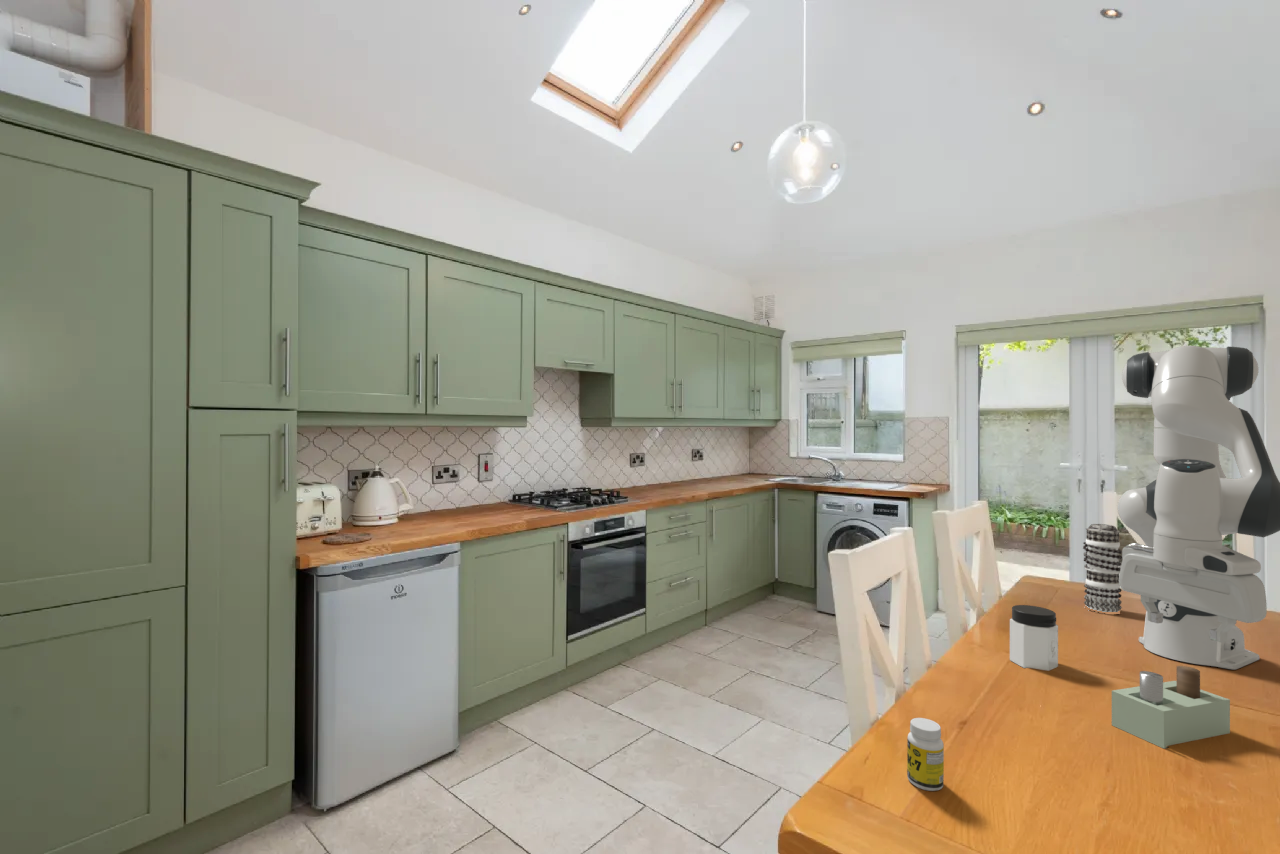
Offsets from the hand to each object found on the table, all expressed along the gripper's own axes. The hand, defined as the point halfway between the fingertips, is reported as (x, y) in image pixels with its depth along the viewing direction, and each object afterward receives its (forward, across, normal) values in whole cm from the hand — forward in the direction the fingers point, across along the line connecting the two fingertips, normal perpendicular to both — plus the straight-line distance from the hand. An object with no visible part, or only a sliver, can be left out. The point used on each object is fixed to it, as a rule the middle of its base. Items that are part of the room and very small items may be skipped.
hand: (1185, 631), depth 103 cm
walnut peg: (+16, +1, 0) cm, 16 cm away
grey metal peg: (+16, +1, -9) cm, 19 cm away
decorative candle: (+19, -54, +57) cm, 81 cm away
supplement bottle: (+16, +2, -57) cm, 60 cm away
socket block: (+16, +1, -5) cm, 17 cm away
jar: (+17, -28, -1) cm, 33 cm away
